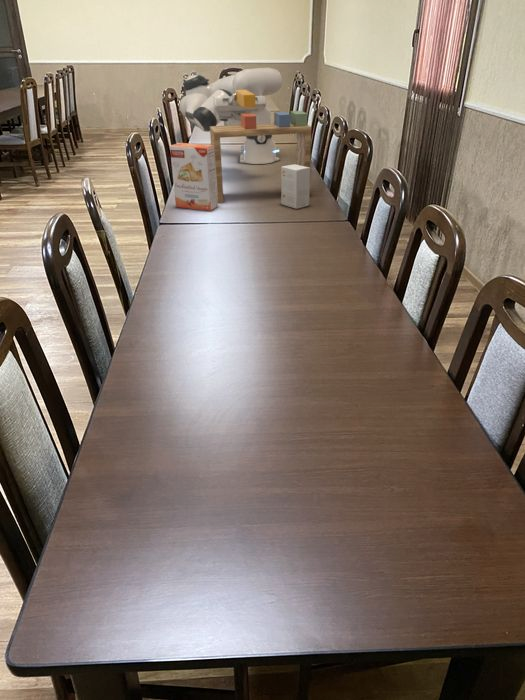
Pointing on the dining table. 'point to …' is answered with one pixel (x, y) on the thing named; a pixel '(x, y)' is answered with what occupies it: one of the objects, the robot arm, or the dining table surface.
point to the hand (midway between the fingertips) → (241, 95)
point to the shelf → (261, 129)
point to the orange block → (245, 98)
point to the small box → (295, 186)
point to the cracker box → (194, 176)
